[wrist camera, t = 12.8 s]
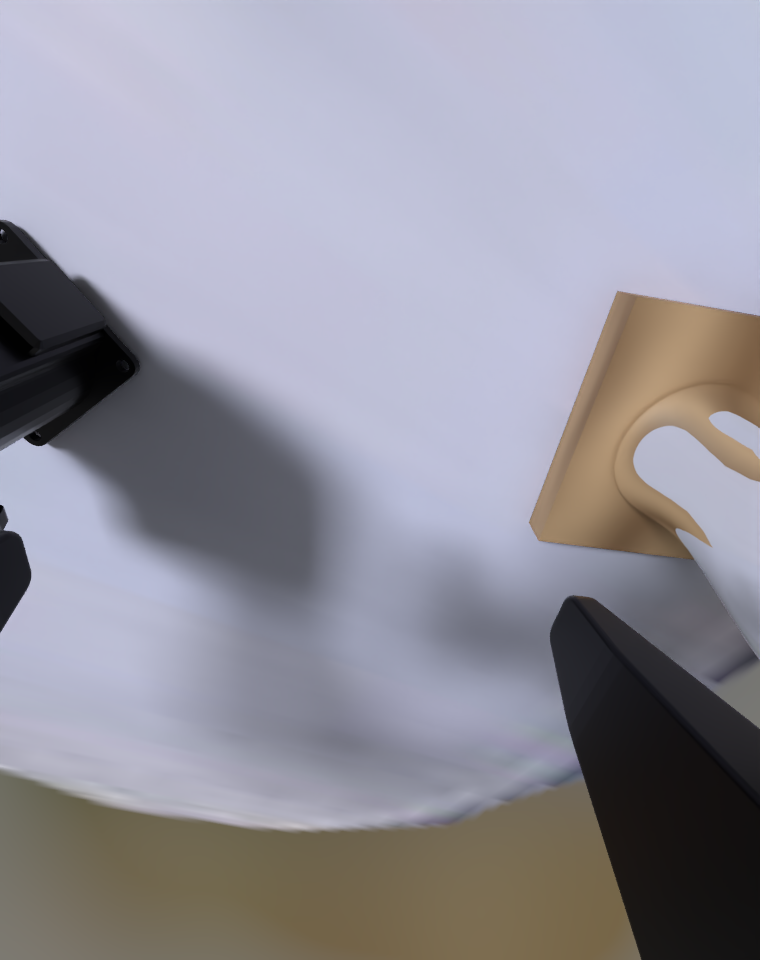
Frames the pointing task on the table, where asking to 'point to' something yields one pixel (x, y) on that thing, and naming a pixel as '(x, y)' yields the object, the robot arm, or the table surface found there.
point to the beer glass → (703, 487)
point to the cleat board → (636, 414)
